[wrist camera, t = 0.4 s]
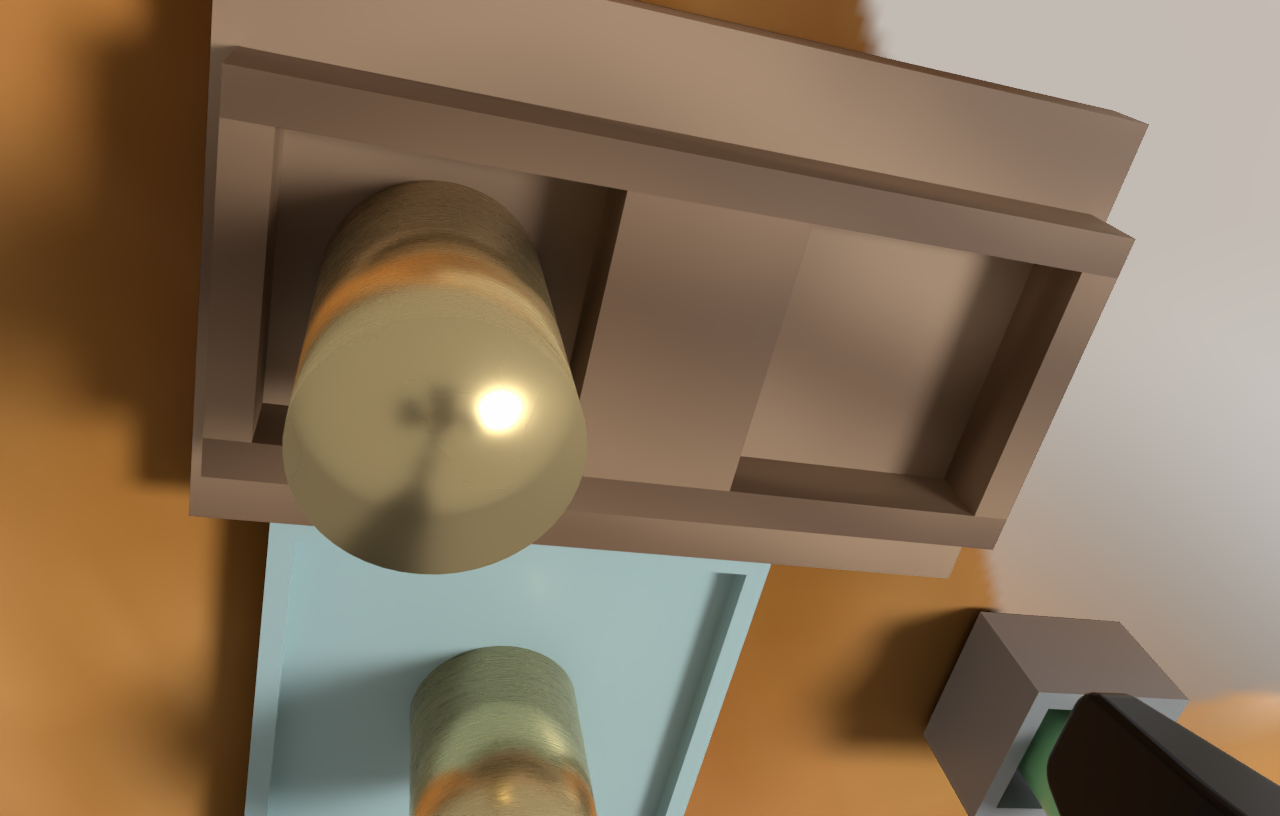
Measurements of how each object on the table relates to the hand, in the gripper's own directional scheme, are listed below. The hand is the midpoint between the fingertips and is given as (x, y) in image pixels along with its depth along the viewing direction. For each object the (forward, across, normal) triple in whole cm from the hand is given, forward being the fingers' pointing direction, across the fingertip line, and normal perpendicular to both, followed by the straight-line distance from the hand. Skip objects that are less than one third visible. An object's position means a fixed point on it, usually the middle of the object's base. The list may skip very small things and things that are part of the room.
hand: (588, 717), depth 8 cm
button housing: (+13, -16, +11) cm, 24 cm away
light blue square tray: (+14, -2, +12) cm, 18 cm away
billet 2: (+13, -2, +12) cm, 18 cm away
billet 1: (+12, +1, +1) cm, 12 cm away
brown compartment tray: (+13, -4, +1) cm, 14 cm away
